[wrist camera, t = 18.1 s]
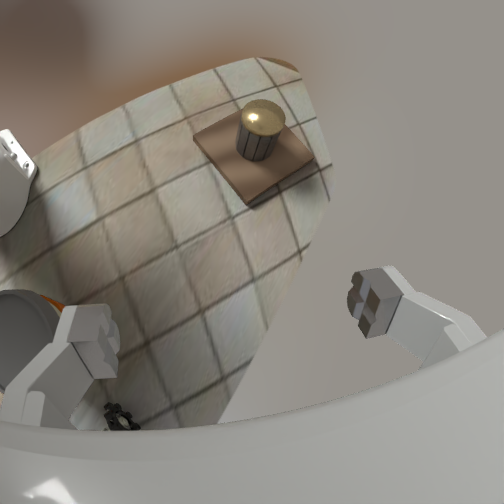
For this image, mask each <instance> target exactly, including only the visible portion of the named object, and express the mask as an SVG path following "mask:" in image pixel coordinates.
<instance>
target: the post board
mask: <svg viewBox="0 0 504 504" xmlns="http://www.w3.org/2000/svg"><path fill="white" fill-rule="evenodd" d="M242 111H243V109H241V110H239V111H237V112H235V113H233V114H231V115H229V116H227V117H226V118H224V119H222V120H220V121H218V122H216V123H214V124H213V125H211V126H209V127H207V128H205V129H203V130H202V131H200V132H198V133H196V134H195V135H193V141H194V142H195V143H196V144H197V146H198V147H199V148H200V149H201V150H202V152H203V153H204V154H205V155H206V156H207V158H208V159H209V160H210V161H211V163H212V164H213V165H214V166H215V167H216V169H217V170H218V171H219V172H220V174H221V175H222V176H223V177H224V179H225V180H226V181H227V182H228V184H229V185H230V186H231V187H232V188H233V190H234V191H235V192H236V193H237V195H238V196H239V197H240V198H241V200H242V201H243V202H244V203H245V205H247V204H249V203H250V202H251V201H253V200H254V199H256V198H257V197H259V196H260V195H262V194H263V193H265V192H266V191H268V190H269V189H271V188H272V187H274V186H275V185H276V184H278V183H279V182H281V181H282V180H284V179H285V178H287V177H288V176H290V175H291V174H293V173H295V172H296V171H298V170H299V169H301V168H302V167H304V166H305V165H307V164H308V163H310V162H311V161H312V160H313V159H314V156H313V155H312V154H311V152H310V151H309V150H308V149H307V148H306V147H305V146H304V145H303V143H302V142H301V141H300V140H299V139H298V138H297V137H296V136H295V135H294V133H293V132H292V131H291V130H290V129H289V128H288V127H287V126H286V125H285V124H284V126H283V129H282V131H281V133H280V135H279V138H278V140H277V142H276V144H275V147H274V149H273V151H272V154H271V156H270V157H268V158H267V159H265V160H262V161H253V160H252V161H250V160H247V159H245V158H243V157H244V156H243V157H242V156H241V155H240V154H239V153H238V152H237V150H236V144H235V140H236V136H237V131H238V126H239V122H240V117H241V114H242Z"/></svg>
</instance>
